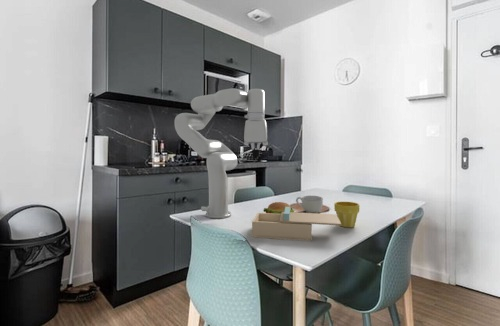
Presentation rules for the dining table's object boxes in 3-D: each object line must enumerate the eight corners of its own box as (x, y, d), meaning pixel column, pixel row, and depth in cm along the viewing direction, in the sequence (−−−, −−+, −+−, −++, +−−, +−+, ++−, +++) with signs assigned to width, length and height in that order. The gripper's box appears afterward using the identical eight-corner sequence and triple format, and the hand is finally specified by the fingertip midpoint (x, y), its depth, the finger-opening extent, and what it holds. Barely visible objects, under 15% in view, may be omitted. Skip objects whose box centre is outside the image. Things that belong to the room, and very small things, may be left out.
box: (252, 237, 103) (252, 221, 102) (257, 226, 116) (257, 212, 116) (311, 240, 99) (311, 224, 98) (309, 229, 113) (310, 215, 112)
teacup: (325, 211, 145) (325, 196, 144) (318, 215, 135) (319, 199, 135) (300, 208, 152) (300, 194, 152) (293, 212, 143) (293, 197, 142)
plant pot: (329, 223, 122) (329, 202, 121) (347, 221, 125) (348, 200, 125) (344, 230, 112) (345, 206, 111) (364, 227, 116) (365, 205, 115)
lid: (279, 222, 100) (279, 214, 100) (281, 213, 114) (281, 206, 114) (341, 225, 97) (341, 216, 96) (336, 215, 110) (336, 208, 110)
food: (284, 214, 139) (284, 198, 138) (298, 221, 126) (299, 204, 125) (259, 216, 134) (259, 200, 133) (272, 224, 121) (272, 206, 120)
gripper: (237, 116, 118) (237, 158, 120) (271, 116, 116) (271, 159, 117) (241, 118, 126) (241, 158, 127) (273, 118, 123) (273, 158, 124)
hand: (255, 158), depth 122 cm, fingers closed
